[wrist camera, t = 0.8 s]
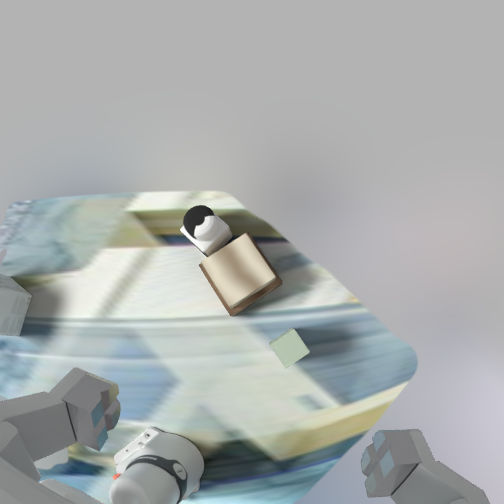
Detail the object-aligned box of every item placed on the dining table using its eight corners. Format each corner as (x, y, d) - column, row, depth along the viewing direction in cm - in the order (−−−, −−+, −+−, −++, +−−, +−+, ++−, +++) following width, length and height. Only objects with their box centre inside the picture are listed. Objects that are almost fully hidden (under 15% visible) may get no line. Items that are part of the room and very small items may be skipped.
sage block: (283, 362, 59) (285, 368, 50) (269, 342, 61) (269, 344, 51) (303, 348, 60) (310, 352, 50) (290, 328, 61) (294, 328, 51)
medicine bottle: (188, 239, 67) (171, 221, 55) (210, 216, 68) (198, 193, 56) (210, 260, 65) (197, 245, 54) (233, 236, 66) (225, 217, 55)
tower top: (232, 308, 59) (229, 307, 55) (205, 266, 61) (200, 261, 57) (275, 280, 60) (275, 276, 56) (247, 238, 62) (245, 232, 58)
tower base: (233, 316, 63) (230, 315, 58) (203, 269, 66) (198, 265, 61) (281, 284, 64) (282, 281, 59) (250, 238, 66) (248, 232, 62)
